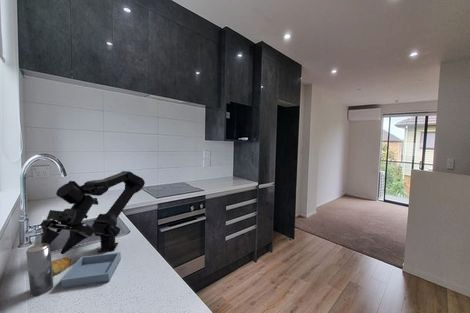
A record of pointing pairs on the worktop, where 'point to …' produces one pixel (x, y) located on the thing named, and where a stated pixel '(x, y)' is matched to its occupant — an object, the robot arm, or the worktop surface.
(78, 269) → the bin
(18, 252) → the worktop surface
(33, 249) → the canister
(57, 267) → the pastry
